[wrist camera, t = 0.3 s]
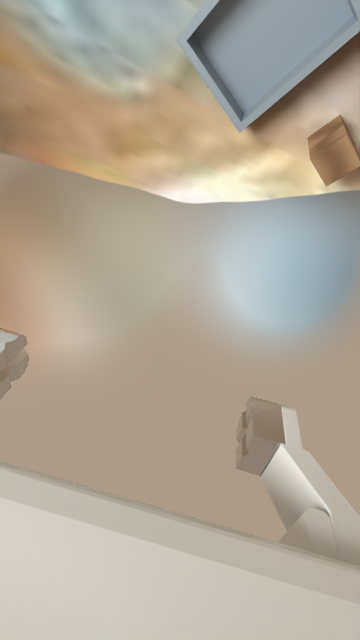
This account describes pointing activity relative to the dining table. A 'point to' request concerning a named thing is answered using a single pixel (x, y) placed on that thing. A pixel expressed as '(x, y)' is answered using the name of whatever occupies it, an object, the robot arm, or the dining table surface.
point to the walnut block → (333, 151)
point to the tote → (264, 48)
